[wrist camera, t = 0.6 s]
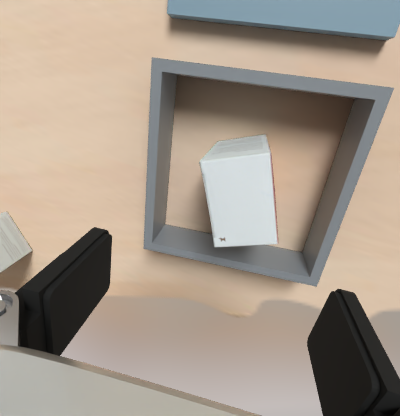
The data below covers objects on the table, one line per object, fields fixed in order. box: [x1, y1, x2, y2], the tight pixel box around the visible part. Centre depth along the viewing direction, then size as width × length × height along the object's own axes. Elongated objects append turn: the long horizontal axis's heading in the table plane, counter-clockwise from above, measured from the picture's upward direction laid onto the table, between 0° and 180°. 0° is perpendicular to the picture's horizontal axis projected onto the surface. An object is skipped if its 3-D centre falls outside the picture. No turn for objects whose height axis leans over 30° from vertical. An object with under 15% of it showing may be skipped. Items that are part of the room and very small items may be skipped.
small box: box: [199, 134, 278, 247], centre depth 26 cm, size 8×6×10 cm
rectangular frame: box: [144, 58, 394, 287], centre depth 28 cm, size 20×20×5 cm
